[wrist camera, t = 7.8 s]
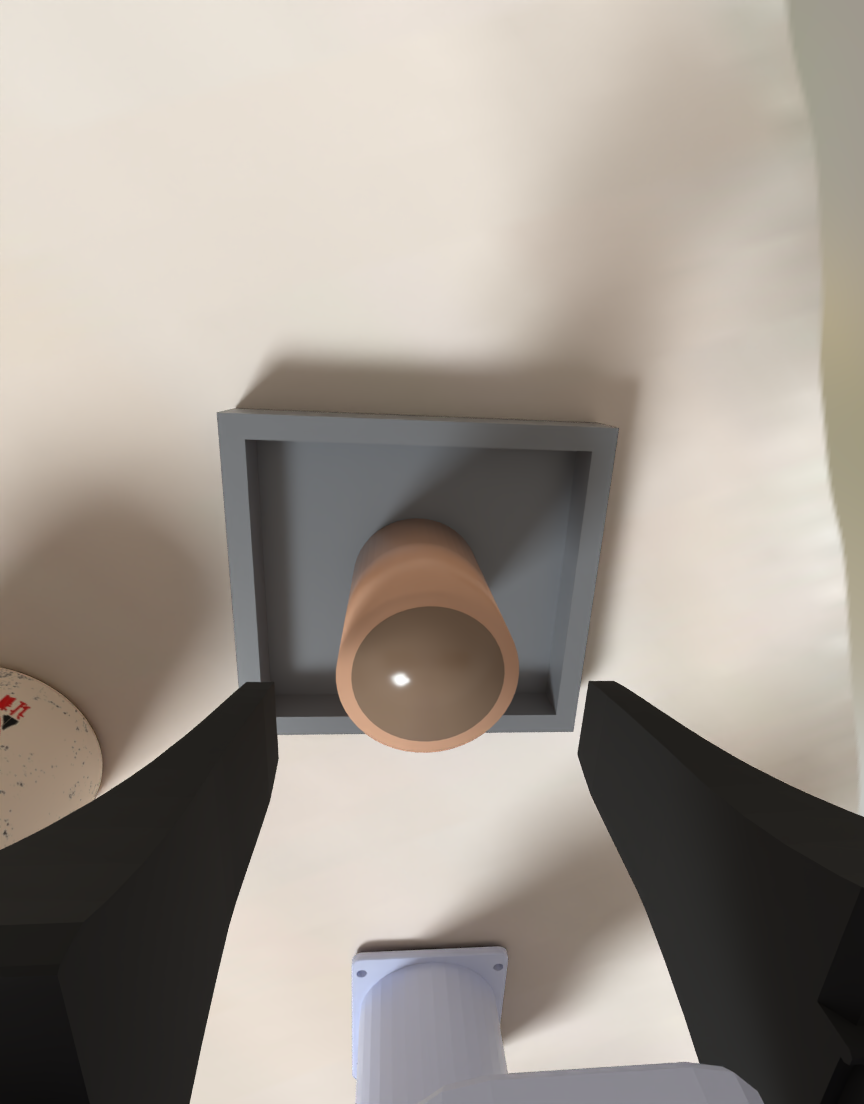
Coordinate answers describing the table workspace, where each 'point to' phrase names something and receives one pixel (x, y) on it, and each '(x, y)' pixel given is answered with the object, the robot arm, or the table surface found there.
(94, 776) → the teacup with lid
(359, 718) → the terracotta cup
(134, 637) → the table surface
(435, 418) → the charcoal tray
